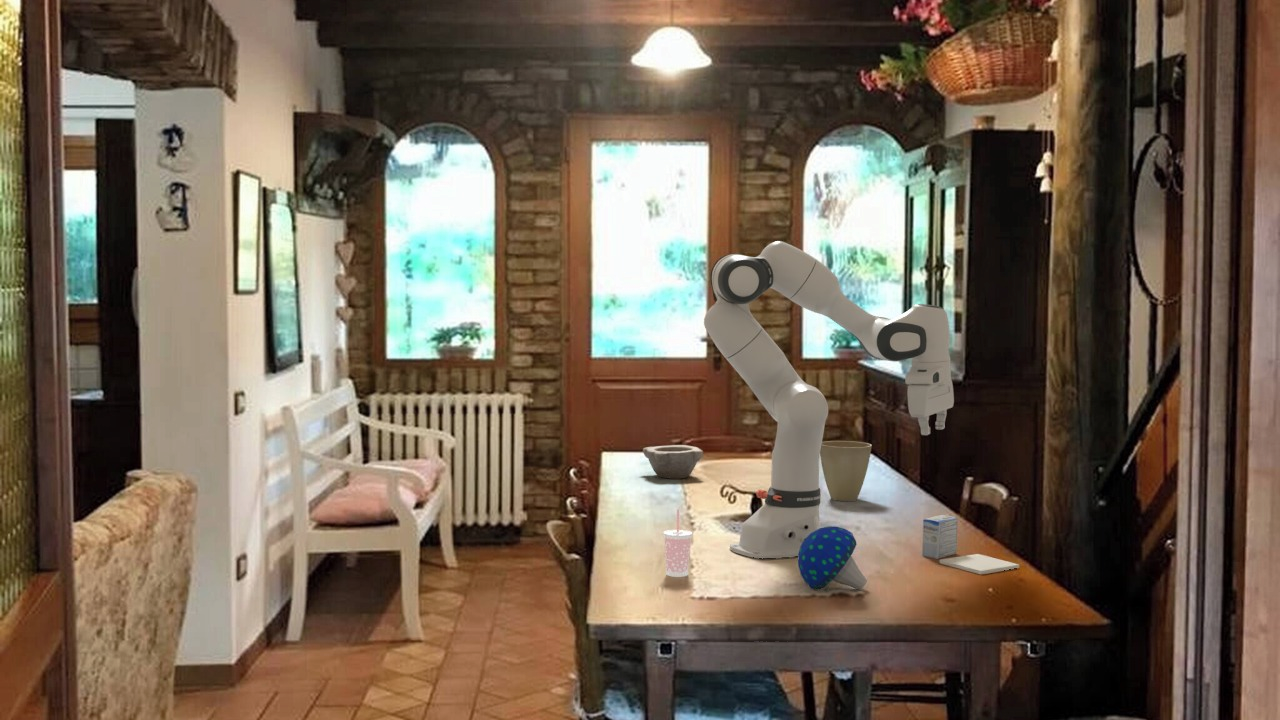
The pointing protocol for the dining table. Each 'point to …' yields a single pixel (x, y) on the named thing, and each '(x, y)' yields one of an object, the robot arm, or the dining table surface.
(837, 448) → the plant pot
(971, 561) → the ceramic tile
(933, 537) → the medicine box
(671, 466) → the mortar
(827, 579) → the mushroom
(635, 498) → the dining table surface
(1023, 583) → the dining table surface
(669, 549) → the beverage cup
